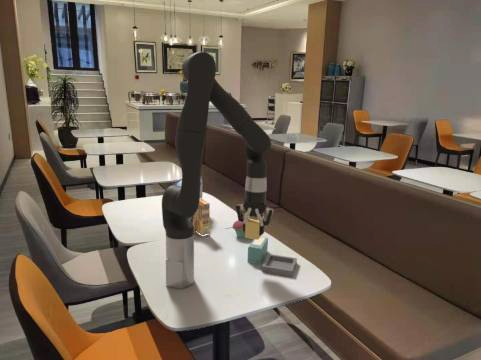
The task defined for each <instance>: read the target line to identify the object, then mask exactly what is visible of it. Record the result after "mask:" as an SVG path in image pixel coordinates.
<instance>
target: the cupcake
mask: <svg viewBox="0 0 481 360" xmlns="http://www.w3.org/2000/svg"><path fill="white" fill-rule="evenodd" d="M246 213H247V212H246V211H245V213H244V216H243V218H245V215H246ZM232 229H233V230H234V231H235V234H236V236H237V237H238V236H239V237H238V238H241V237H244V238H245V233H244V231H243V222H241V221H239V220H235V222H233V223H232Z"/></svg>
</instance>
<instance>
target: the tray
mask: <svg viewBox="0 0 481 360" xmlns="http://www.w3.org/2000/svg"><path fill="white" fill-rule="evenodd" d="M297 262H298V258H297V257H291V256H285V255H278V254H272V253H268V254H267V256H266V258H265V260H264V262H263V263H262V266H261V272H262V273H269V274H274V275H275V274H276V275H280V276H286V277H287V276H288V277H293V275H294V271H295V270H296V269H295V268H296V266H297Z"/></svg>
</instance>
